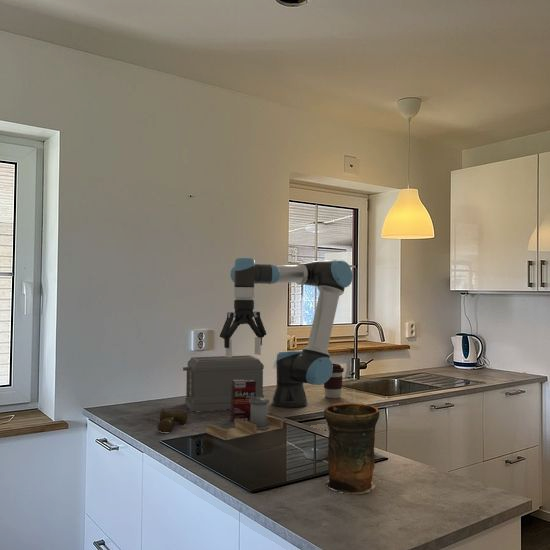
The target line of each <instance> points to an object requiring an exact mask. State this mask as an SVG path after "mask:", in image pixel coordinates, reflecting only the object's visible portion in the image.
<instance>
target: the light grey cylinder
mask: <svg viewBox="0 0 550 550" xmlns="http://www.w3.org/2000/svg"><path fill="white" fill-rule="evenodd" d="M249 402H250V403H251V419H250V421H249V422H250V423H253V424H256V430H266V429H269V425H268V424H267V415H268V404H269V403H270V399H269V398H268V397H264V398H262V397H256V398H250V399H249Z"/></svg>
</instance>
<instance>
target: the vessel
mask: <svg viewBox="0 0 550 550" xmlns="http://www.w3.org/2000/svg"><path fill="white" fill-rule="evenodd" d="M323 412H324V413H323V417H324V419H325V422H326V424H327V427H328V431H329V432H328V436H327V437H328V438H327V439H328V441H327V442H328V443H327V444H328V445H327V446H328V447H327V458H328V480H327V481H326V483H325V486H326V485H328V487H330V488H333V489H335V490H337V491H338V492H343V493H345V494H344V495H354V496H355V495H365V494H368V493H371V491H373V490H374V489H375V487H376V486H377V485H376V484H374V482H373V474H374V470H375V466H376V465H375V442H376V441H375V440H376V426H377V423H378V422H379V419H380V410H379V408H377V407H375V406H373V405H371V404H370V405H369V404H368V405H367V404H364V403H351V402H350V403H340V402H339V403H334V404H333V403H331V404H330V405H328V406H326V407H325V409H324V410H323ZM338 492H337V493H338Z"/></svg>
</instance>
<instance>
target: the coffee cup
mask: <svg viewBox="0 0 550 550" xmlns="http://www.w3.org/2000/svg"><path fill="white" fill-rule="evenodd" d="M332 366H333V371H332V375H331V377H330V379H329V380H328V381H327V382H325V383H324V384H323V388H324V397H326V398H328V399H339V398H341V396H342V388H343V373H344V371H345V370H344V369H345V368H344V367H342V366H341V364H338V363H332Z"/></svg>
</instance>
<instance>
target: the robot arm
mask: <svg viewBox="0 0 550 550" xmlns="http://www.w3.org/2000/svg"><path fill="white" fill-rule="evenodd" d="M230 279H231V281H232V282H233V283H234V286H233V287H234V289H233V294H234V295H233V296H234V300H233V309H234V311H233V312H232V311H228V312H227V316H226V318H225V319H226V320H225V322H224V324H223V326H222V329H221V332H220V333H219V338H222V339H223V340H224V341H223V343H224V345H223V346H224V348H225V356H226V357H232V356H233V351H232V350H233V349H232V348H233V345H232V344H233V339H231V337H232V336H233V335H234V333H235V332H236V331H237V329H238V328H239V326H241V325H248V326H249V327H250V328H251V330H252V332H253V333H254V335H255V336H254V355H259V356H261V352H262V351H261V349H262V345H263V338H264V337H265V336H266V335H267V331H266V329H265V326H264V323H263V321H262V319H261V318H262V317H261V312H260V311H254V309H255V300H254V299H255V285H257V284H260V285H263V284H264V285H265V284H267V285H271V284H272V285H274V284H285V283H286V284H288V283H295V284H296V285H301V286H302V285H303V286H304V285H305V286H312V287H316V288H317V290H318V293H319V294H318V298H317V303H316V307H315V312H314V314H313V315H314V316H313V320H312V324H311V329H310V333H309V336H308V342H307V345H306V346H305V347H304V348H302V349H301V350H287V351H285V350H284V351H279V352H277V354H276V362H275V363H276V364H275V365H276V367H275V368H276V386H275V390H274V394H273V397H272V402H271V403H272V405H274V406H275V407H276V406H277V407H282V408H300V407H305V406H307V405H308V398H307V394H306V391H305V388H304V384H308V385H313V386H314V385H315V386H321V385H324V383H325V382H327V381H328V380H329V379H330V377H331V375H332V371H333V366H332V364H333V362H332V360H331V359H330V358H331V355H330V352H328V348H329V345H330V339H331V334H332V331H333V326H334V322H335V317H336V312H337V308H338V304H339V303H338V302H339V300H340V296H342V295H343V294H344V293H345V288H347V287H350V285H351V284H352V281H353V279H354V277H353V270H352V268H351V266H350V264H349V263H348V262H346V261H345V260H339V259H331V260H330V259H329V260H315V261H310V262H299V263H296V264H294V265H292V264H291V265H281V264H280V265H279V264H277V265H276V264H268V263H267V264H266V263H265V264H260V263H256V261H255V259H254V258H251V257H250V258H249V257H238V258H236V259H235V260H234V266H232V268H231V270H230Z"/></svg>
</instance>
